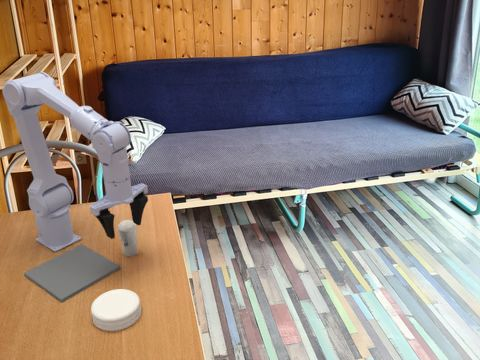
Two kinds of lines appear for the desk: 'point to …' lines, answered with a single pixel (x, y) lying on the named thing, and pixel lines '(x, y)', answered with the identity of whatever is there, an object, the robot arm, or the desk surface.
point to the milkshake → (128, 237)
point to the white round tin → (116, 310)
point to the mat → (72, 272)
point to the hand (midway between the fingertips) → (124, 230)
